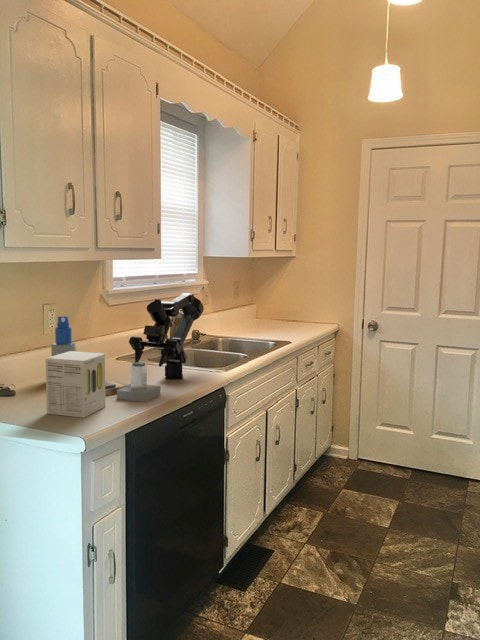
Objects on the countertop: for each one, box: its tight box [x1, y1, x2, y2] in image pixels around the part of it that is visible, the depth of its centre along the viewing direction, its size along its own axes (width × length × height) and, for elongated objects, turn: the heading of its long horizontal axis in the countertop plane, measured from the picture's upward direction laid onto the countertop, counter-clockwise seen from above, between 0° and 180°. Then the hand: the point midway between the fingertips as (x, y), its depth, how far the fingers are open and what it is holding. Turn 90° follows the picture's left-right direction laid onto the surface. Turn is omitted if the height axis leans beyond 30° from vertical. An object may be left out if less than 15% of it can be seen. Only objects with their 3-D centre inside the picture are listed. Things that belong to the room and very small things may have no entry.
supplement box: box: [45, 350, 106, 419], centre depth 167 cm, size 13×13×18 cm
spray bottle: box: [50, 315, 77, 357], centre depth 205 cm, size 9×9×25 cm
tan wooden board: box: [105, 380, 129, 397], centre depth 191 cm, size 12×8×3 cm, turn 139°
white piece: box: [130, 361, 148, 390], centre depth 184 cm, size 4×4×9 cm
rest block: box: [116, 383, 161, 403], centre depth 185 cm, size 11×11×3 cm
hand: (147, 364), depth 192 cm, fingers open, 9 cm apart
